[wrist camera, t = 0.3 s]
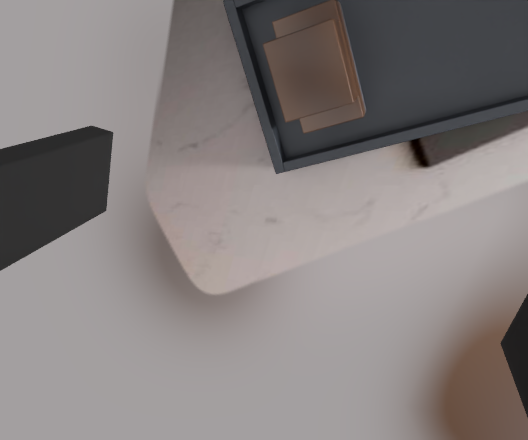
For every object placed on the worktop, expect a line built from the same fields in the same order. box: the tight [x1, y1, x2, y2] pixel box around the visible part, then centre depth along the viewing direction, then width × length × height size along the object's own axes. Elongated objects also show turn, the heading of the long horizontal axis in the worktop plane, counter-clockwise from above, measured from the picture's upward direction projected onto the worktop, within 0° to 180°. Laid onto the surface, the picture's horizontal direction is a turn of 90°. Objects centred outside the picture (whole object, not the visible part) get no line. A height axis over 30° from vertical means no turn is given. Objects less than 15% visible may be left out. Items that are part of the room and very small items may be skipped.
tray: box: [223, 0, 528, 174], centre depth 33 cm, size 22×14×2 cm, turn 108°
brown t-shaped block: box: [263, 0, 366, 134], centre depth 31 cm, size 4×8×8 cm, turn 18°
